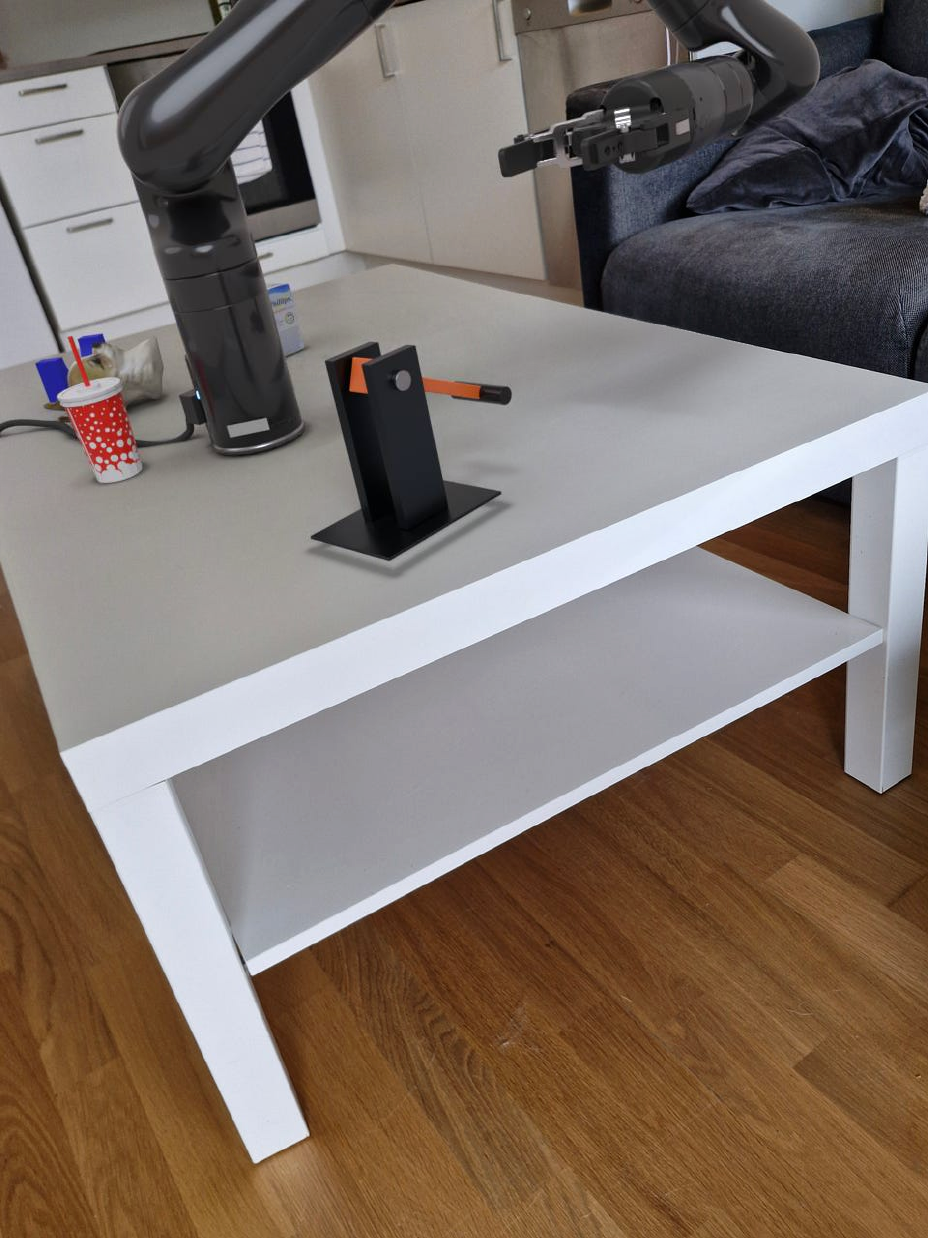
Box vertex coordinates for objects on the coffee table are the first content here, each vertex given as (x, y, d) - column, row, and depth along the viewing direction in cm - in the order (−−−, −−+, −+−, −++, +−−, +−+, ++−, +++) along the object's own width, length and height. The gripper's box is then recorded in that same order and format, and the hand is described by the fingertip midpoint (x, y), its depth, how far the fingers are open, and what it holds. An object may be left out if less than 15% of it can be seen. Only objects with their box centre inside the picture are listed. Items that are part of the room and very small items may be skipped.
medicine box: (243, 356, 139) (225, 291, 135) (268, 346, 142) (251, 281, 137) (281, 359, 134) (263, 291, 130) (306, 348, 137) (289, 281, 132)
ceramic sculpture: (161, 326, 120) (35, 373, 115) (189, 397, 124) (69, 444, 119) (139, 317, 129) (21, 360, 124) (165, 383, 133) (52, 427, 128)
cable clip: (89, 380, 143) (73, 337, 140) (117, 376, 142) (102, 333, 139) (42, 410, 133) (24, 364, 130) (72, 406, 132) (55, 360, 129)
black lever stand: (424, 489, 86) (388, 324, 79) (504, 506, 80) (473, 329, 73) (314, 551, 79) (265, 376, 73) (392, 574, 73) (347, 386, 67)
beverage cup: (161, 465, 104) (114, 327, 98) (108, 489, 101) (55, 348, 94) (130, 458, 108) (83, 325, 102) (78, 481, 105) (25, 345, 98)
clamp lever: (459, 405, 84) (463, 375, 84) (510, 412, 81) (514, 380, 80) (334, 389, 75) (337, 355, 74) (384, 395, 71) (388, 360, 71)
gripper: (591, 79, 93) (468, 116, 84) (731, 56, 83) (609, 96, 74) (602, 168, 96) (485, 213, 87) (737, 156, 87) (622, 206, 78)
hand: (542, 160), depth 81 cm, fingers open, 8 cm apart
